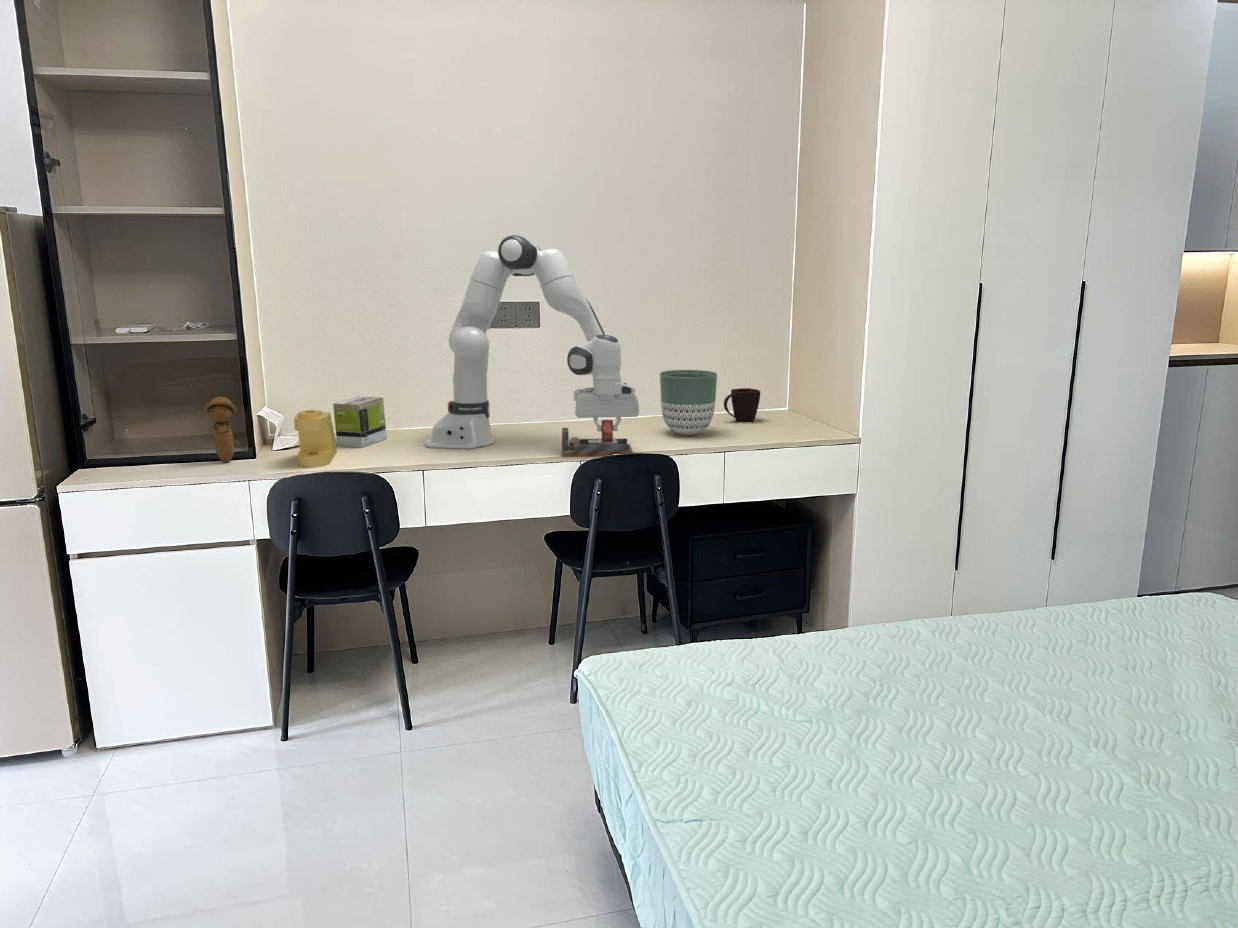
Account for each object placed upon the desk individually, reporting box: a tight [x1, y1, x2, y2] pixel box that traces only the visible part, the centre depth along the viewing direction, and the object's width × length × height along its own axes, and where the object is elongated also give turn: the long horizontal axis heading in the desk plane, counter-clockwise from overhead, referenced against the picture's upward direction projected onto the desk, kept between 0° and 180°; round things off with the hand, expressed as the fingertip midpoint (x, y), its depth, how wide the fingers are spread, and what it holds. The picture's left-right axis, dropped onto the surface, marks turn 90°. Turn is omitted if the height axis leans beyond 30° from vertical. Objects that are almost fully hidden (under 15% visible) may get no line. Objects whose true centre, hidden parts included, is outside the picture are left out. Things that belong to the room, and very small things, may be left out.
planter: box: [659, 369, 718, 436], centre depth 307 cm, size 20×20×21 cm
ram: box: [588, 419, 617, 445], centre depth 279 cm, size 9×7×9 cm
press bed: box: [561, 427, 634, 458], centre depth 280 cm, size 22×10×8 cm, turn 94°
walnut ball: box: [569, 436, 580, 446], centre depth 279 cm, size 4×4×4 cm
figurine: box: [203, 396, 238, 463], centre depth 265 cm, size 9×7×20 cm
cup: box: [723, 387, 761, 423], centre depth 330 cm, size 10×14×12 cm
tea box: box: [332, 396, 387, 449], centre depth 293 cm, size 15×10×15 cm
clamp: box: [293, 409, 338, 469], centre depth 269 cm, size 20×9×16 cm, turn 10°
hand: (607, 430), depth 279 cm, fingers closed on ram, 4 cm apart
